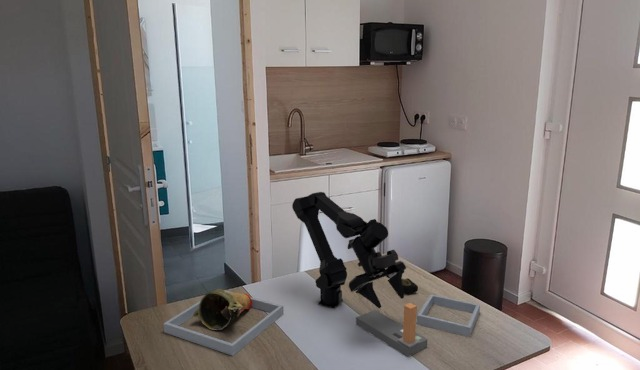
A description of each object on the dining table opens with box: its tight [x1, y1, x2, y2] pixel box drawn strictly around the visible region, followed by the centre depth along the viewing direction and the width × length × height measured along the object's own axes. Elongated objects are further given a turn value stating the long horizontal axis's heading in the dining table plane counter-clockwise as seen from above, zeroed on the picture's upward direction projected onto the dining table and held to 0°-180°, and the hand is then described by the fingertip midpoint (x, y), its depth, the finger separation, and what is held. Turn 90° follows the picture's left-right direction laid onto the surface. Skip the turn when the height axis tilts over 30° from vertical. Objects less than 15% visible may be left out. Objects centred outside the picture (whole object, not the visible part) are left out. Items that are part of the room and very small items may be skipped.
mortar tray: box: [163, 289, 284, 357], centre depth 147 cm, size 26×26×3 cm
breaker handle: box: [398, 302, 420, 348], centre depth 130 cm, size 4×4×11 cm
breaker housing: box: [355, 309, 429, 358], centre depth 140 cm, size 22×8×3 cm, turn 37°
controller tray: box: [416, 293, 481, 338], centre depth 149 cm, size 16×16×3 cm
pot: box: [193, 288, 252, 331], centre depth 149 cm, size 18×12×19 cm
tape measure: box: [402, 278, 419, 295], centre depth 168 cm, size 7×7×4 cm
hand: (391, 302), depth 135 cm, fingers open, 9 cm apart
